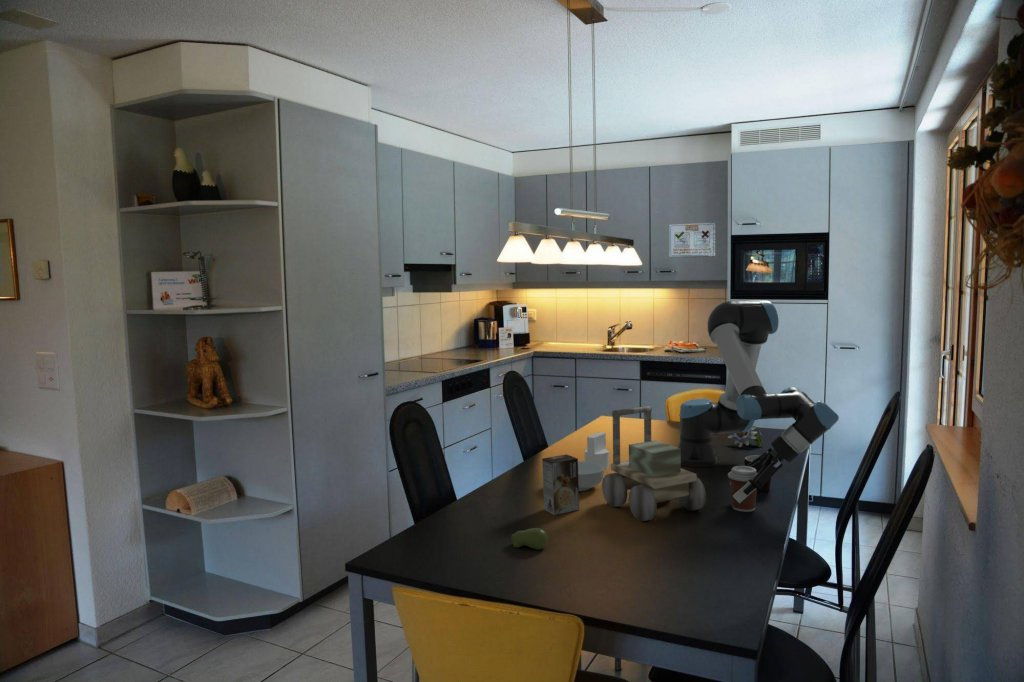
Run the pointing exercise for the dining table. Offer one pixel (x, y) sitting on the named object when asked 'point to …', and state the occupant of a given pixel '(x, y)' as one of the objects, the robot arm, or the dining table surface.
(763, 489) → the coffee mug
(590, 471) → the cereal bowl
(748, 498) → the coffee cup
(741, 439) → the passion flower
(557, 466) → the coffee box
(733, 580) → the dining table surface
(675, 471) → the wooden trolley
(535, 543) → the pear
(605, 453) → the base with upright slab
